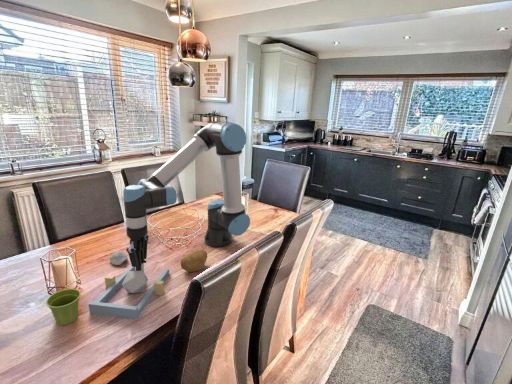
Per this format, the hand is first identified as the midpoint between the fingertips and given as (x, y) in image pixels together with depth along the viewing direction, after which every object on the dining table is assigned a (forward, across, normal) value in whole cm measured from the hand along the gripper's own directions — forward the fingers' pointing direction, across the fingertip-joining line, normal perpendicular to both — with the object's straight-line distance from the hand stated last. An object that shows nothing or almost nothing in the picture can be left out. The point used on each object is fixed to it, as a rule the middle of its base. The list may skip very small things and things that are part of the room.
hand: (140, 278), depth 114 cm
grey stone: (+3, -13, -17) cm, 22 cm away
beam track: (+2, +5, 0) cm, 6 cm away
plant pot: (+2, +23, -14) cm, 27 cm away
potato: (+2, -14, +18) cm, 23 cm away
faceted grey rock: (+2, +5, +1) cm, 6 cm away
